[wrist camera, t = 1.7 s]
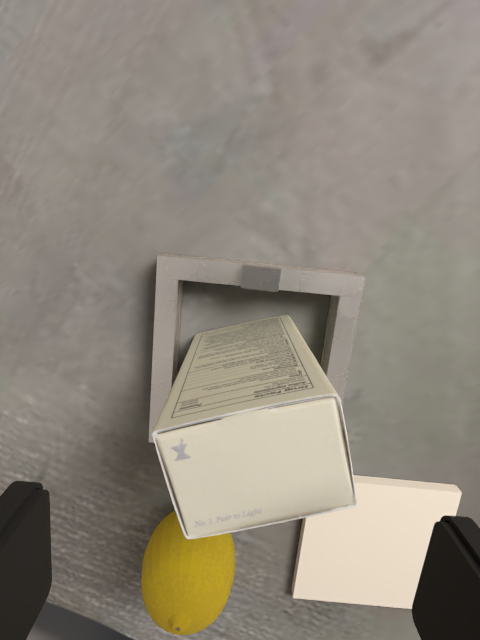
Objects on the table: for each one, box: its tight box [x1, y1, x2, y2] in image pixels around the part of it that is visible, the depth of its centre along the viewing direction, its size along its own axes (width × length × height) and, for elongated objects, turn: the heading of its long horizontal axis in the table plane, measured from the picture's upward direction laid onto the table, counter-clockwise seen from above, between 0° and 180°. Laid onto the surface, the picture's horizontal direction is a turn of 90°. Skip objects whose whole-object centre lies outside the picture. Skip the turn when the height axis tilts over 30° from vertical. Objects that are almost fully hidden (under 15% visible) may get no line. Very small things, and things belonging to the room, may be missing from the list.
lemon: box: [141, 510, 235, 635], centre depth 23 cm, size 6×6×8 cm
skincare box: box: [152, 315, 357, 539], centre depth 18 cm, size 6×4×12 cm
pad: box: [292, 475, 462, 609], centre depth 27 cm, size 10×10×1 cm
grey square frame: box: [149, 253, 365, 443], centre depth 23 cm, size 11×11×3 cm
